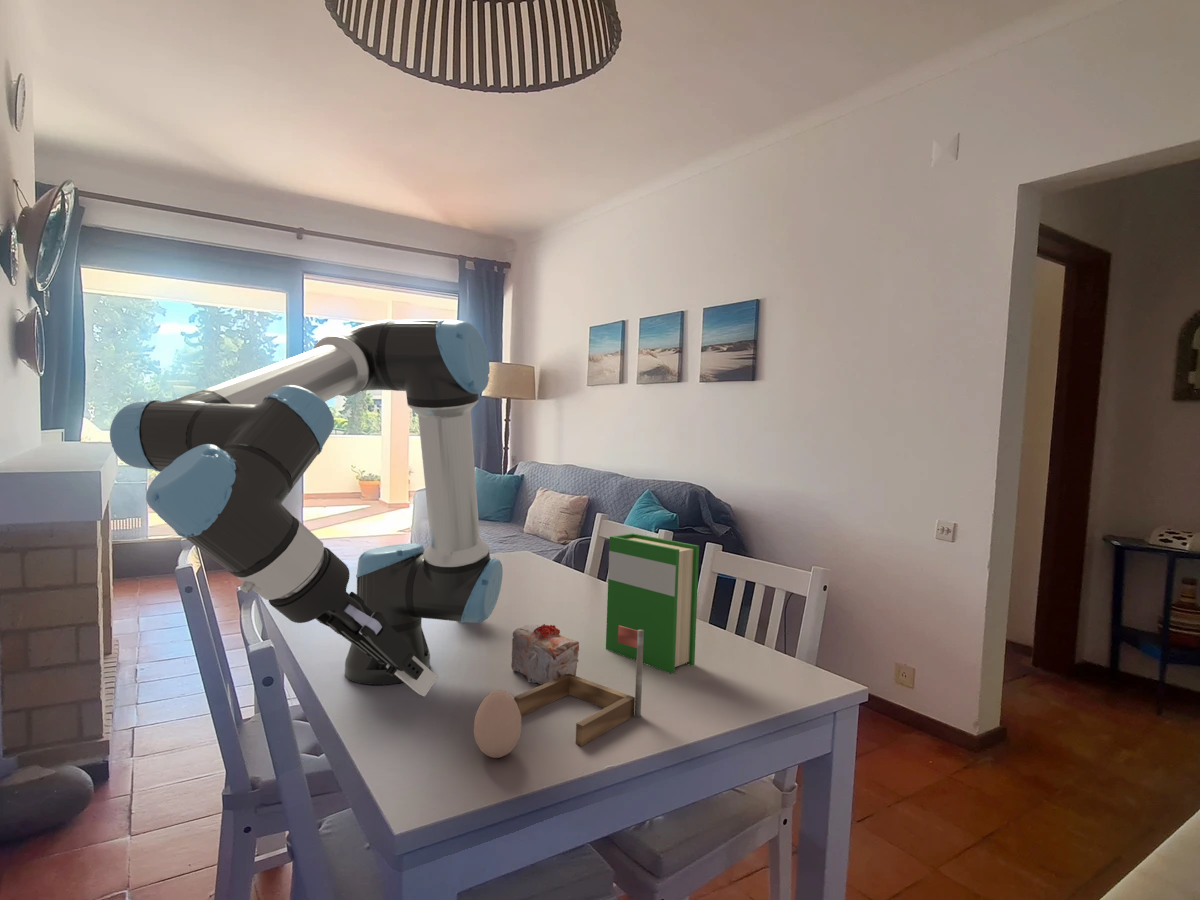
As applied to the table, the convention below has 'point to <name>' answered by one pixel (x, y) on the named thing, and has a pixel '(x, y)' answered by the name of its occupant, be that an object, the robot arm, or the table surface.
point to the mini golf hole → (592, 695)
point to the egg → (497, 724)
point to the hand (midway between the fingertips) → (427, 685)
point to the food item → (543, 653)
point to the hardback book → (653, 598)
